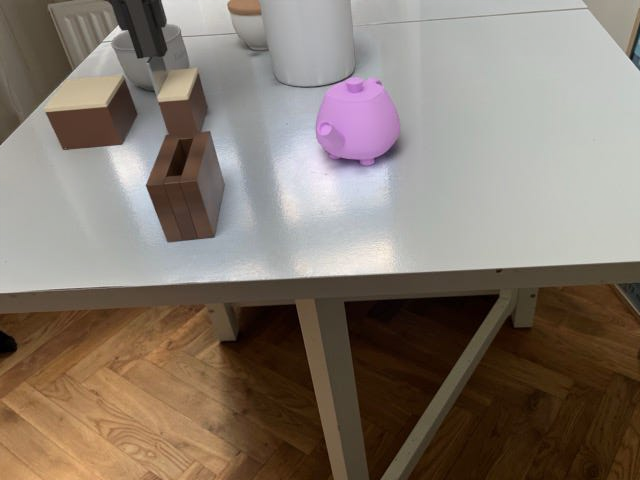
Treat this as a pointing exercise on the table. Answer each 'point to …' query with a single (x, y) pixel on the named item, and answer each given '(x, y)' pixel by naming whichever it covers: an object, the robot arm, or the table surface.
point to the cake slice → (183, 101)
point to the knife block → (187, 186)
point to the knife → (147, 44)
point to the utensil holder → (309, 40)
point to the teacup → (138, 68)
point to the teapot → (357, 120)
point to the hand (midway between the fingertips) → (152, 53)
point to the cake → (91, 112)
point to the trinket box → (248, 23)
